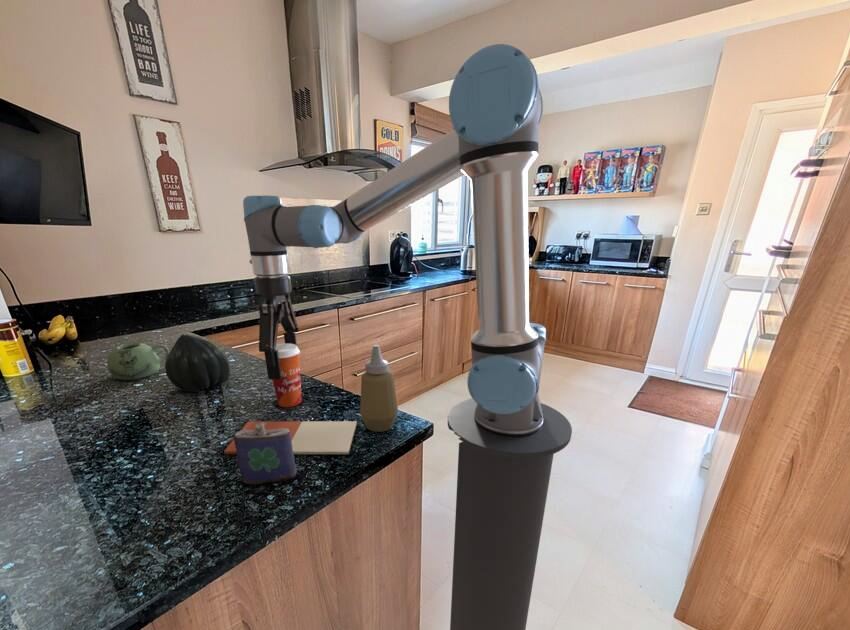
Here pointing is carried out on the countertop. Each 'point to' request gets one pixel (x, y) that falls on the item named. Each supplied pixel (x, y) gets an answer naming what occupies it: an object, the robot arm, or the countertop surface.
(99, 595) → the countertop surface
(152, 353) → the mug
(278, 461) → the flask
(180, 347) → the squash
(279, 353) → the paper cup
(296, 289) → the countertop surface
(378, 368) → the squeeze bottle
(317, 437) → the board
